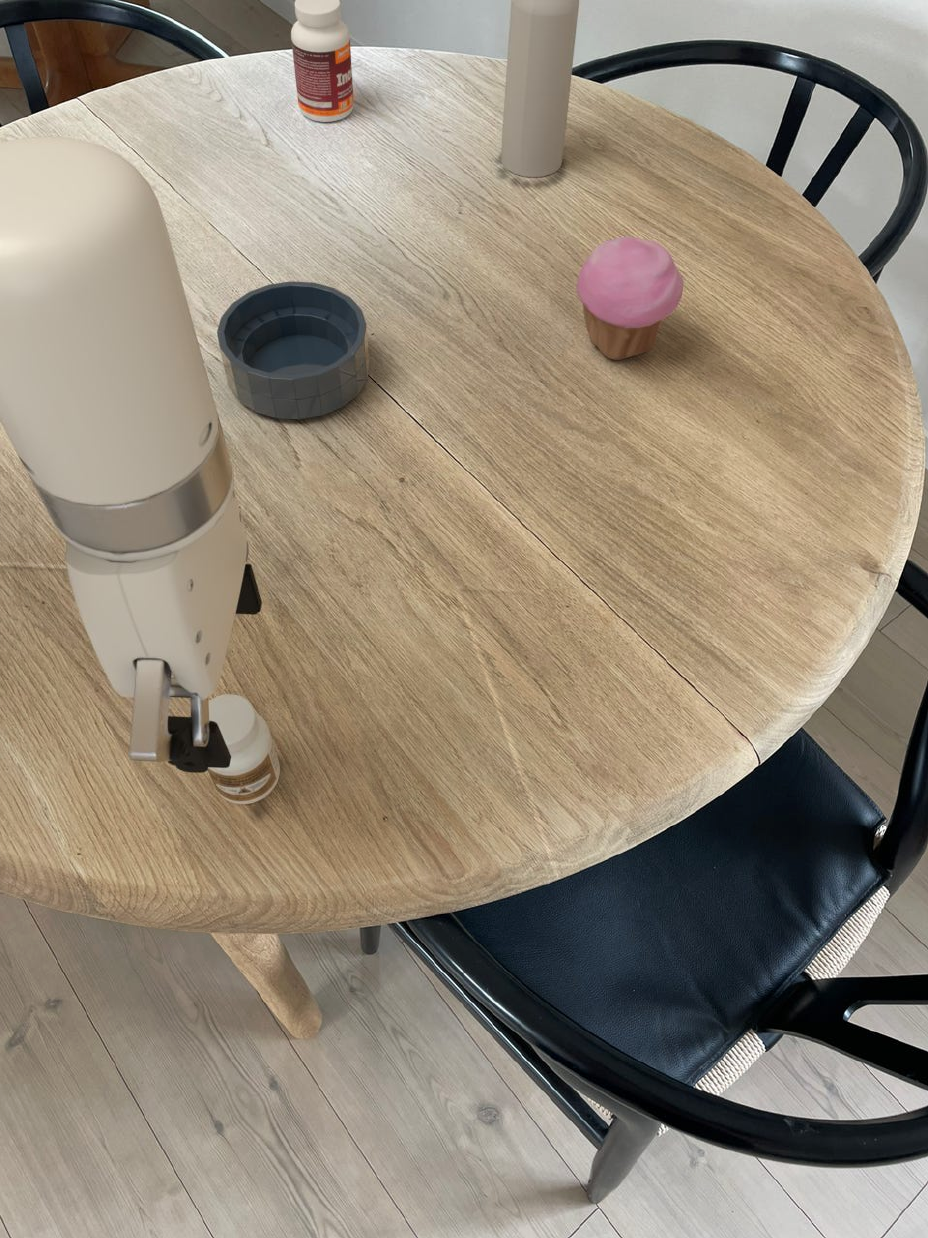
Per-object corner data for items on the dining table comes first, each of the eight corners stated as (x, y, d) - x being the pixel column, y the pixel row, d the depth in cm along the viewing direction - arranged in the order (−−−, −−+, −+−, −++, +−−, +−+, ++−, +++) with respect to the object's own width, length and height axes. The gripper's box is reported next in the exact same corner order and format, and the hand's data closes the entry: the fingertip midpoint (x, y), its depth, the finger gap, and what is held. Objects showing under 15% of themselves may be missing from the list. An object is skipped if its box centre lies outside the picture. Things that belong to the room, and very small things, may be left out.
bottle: (515, 136, 107) (538, -180, 84) (571, 152, 105) (610, -165, 82) (490, 166, 103) (507, -155, 80) (547, 183, 102) (581, -139, 79)
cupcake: (685, 357, 87) (711, 261, 79) (607, 391, 85) (626, 295, 76) (625, 301, 91) (644, 204, 83) (549, 332, 89) (561, 235, 80)
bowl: (216, 420, 81) (204, 374, 77) (241, 324, 88) (232, 277, 84) (361, 428, 81) (357, 382, 77) (375, 331, 88) (372, 285, 84)
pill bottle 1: (218, 814, 62) (193, 760, 56) (208, 753, 64) (183, 696, 58) (286, 796, 63) (269, 742, 56) (274, 737, 65) (257, 679, 59)
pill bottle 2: (350, 125, 107) (342, 18, 98) (294, 122, 107) (282, 14, 98) (357, 96, 111) (351, -11, 101) (303, 92, 111) (292, -14, 102)
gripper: (97, 322, 44) (183, 554, 58) (-29, 642, 35) (111, 827, 49) (261, 328, 44) (308, 559, 58) (181, 651, 34) (260, 834, 49)
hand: (218, 681), depth 53 cm, fingers open, 9 cm apart
